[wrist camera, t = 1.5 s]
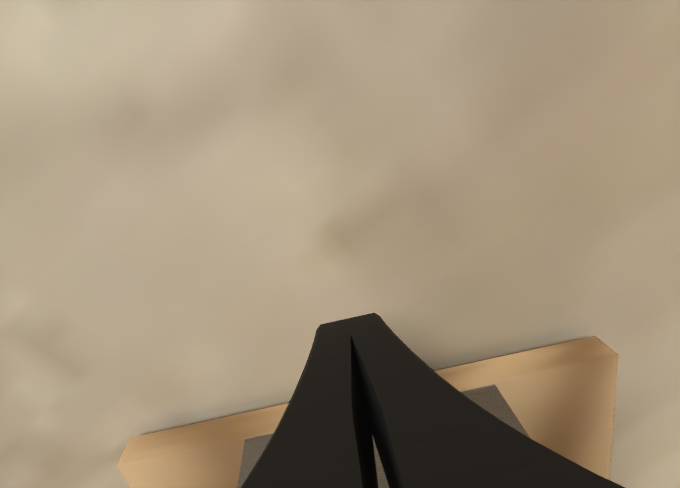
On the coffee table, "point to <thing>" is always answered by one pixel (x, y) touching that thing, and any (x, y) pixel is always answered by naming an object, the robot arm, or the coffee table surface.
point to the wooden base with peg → (505, 372)
